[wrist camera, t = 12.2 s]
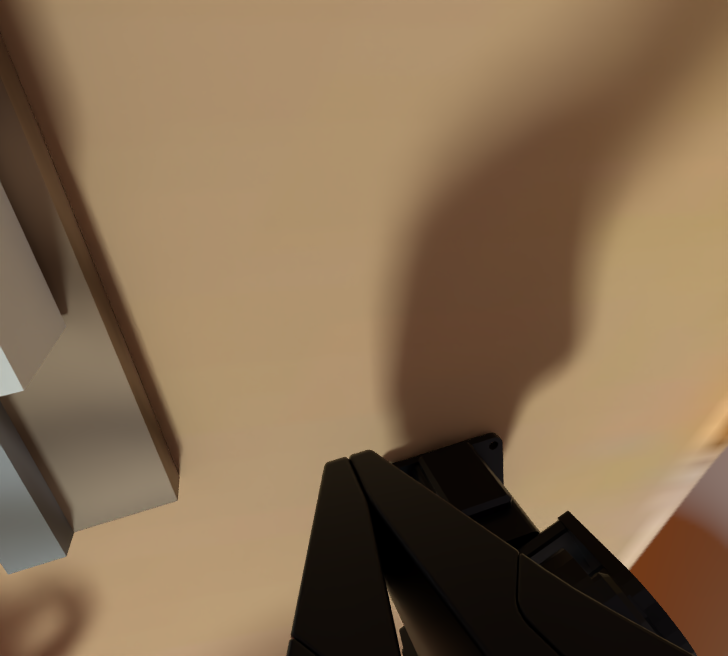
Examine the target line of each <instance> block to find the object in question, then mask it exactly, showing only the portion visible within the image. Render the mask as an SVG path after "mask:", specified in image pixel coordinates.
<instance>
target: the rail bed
mask: <svg viewBox="0 0 728 656" xmlns="http://www.w3.org/2000/svg"><path fill="white" fill-rule="evenodd" d="M0 182H1V184H2V186H3V188H4V191H5V193H6V195H7V197H8V199H9V202H10V204H11V206H12V208H13V210H14V213H15V215H16V217H17V219H18V221H19V224H20V226H21V228H22V230H23V232H24V235H25V237H26V239H27V241H28V243H29V246H30V248H31V250H32V252H33V254H34V257H35V259H36V261H37V263H38V265H39V268H40V270H41V272H42V274H43V276H44V278H45V281H46V283H47V285H48V287H49V289H50V292H51V294H52V296H53V298H54V300H55V303H56V305H57V307H58V309H59V311H60V314H61V316H62V318H63V320H64V322H65V325H66V328H65V329H64V331H63V332H62V334H61V335H60V337H59V338H58V340H57V341H56V343H55V344H54V346H53V347H52V349H51V350H50V352H49V353H48V355H47V356H46V358H45V359H44V361H43V362H42V364H41V366H40V367H39V369H38V370H37V372H36V373H35V375H34V376H33V378H32V379H31V381H30V382H29V384H28V385H27V387H26V388H25V390H24V391H21V392H16V393H12V394H8V395H4V396H0V563H1V565H2V566H3V568H4V569H5V570H6V572H7V573H8V574H12V573H15V572H18V571H21V570H24V569H28V568H31V567H34V566H37V565H40V564H44V563H47V562H50V561H53V560H56V559H60V558H63V557H66V556H67V553H68V550H69V547H70V543H71V540H72V537H73V534H74V532H77V531H80V530H83V529H87V528H90V527H93V526H96V525H100V524H103V523H106V522H110V521H113V520H116V519H119V518H123V517H126V516H129V515H133V514H136V513H139V512H142V511H146V510H149V509H152V508H156V507H159V506H162V505H165V504H169V503H172V502H175V501H178V490H179V478H180V477H179V474H178V472H177V469H176V467H175V464H174V462H173V459H172V457H171V454H170V452H169V450H168V447H167V445H166V442H165V440H164V437H163V435H162V432H161V430H160V427H159V425H158V422H157V420H156V417H155V415H154V412H153V410H152V407H151V405H150V402H149V400H148V397H147V395H146V393H145V390H144V388H143V385H142V383H141V380H140V378H139V375H138V373H137V370H136V368H135V365H134V363H133V360H132V358H131V355H130V353H129V350H128V348H127V345H126V343H125V341H124V338H123V336H122V333H121V331H120V328H119V326H118V323H117V321H116V318H115V316H114V313H113V311H112V308H111V306H110V303H109V301H108V298H107V296H106V293H105V291H104V288H103V286H102V284H101V281H100V279H99V276H98V274H97V271H96V269H95V266H94V264H93V261H92V259H91V256H90V254H89V251H88V249H87V246H86V244H85V241H84V239H83V236H82V234H81V232H80V229H79V227H78V224H77V222H76V219H75V217H74V214H73V212H72V209H71V207H70V204H69V202H68V199H67V197H66V194H65V192H64V189H63V187H62V184H61V182H60V179H59V177H58V175H57V172H56V170H55V167H54V165H53V162H52V160H51V157H50V155H49V152H48V150H47V147H46V145H45V142H44V140H43V137H42V135H41V132H40V130H39V127H38V125H37V123H36V120H35V118H34V115H33V113H32V110H31V108H30V105H29V103H28V100H27V98H26V95H25V93H24V90H23V88H22V85H21V83H20V80H19V78H18V75H17V73H16V70H15V68H14V66H13V63H12V61H11V58H10V56H9V53H8V51H7V48H6V46H5V43H4V41H3V38H2V36H1V33H0Z"/></svg>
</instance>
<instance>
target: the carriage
mask: <svg viewBox="0 0 728 656" xmlns="http://www.w3.org/2000/svg"><path fill="white" fill-rule="evenodd" d="M65 328H66V325H65V322H64V320H63V318H62V316H61V314H60V311H59V309H58V307H57V305H56V303H55V300H54V298H53V296H52V294H51V292H50V289H49V287H48V285H47V283H46V281H45V278H44V276H43V274H42V272H41V270H40V268H39V265H38V263H37V261H36V259H35V257H34V254H33V252H32V250H31V248H30V246H29V243H28V241H27V239H26V237H25V235H24V232H23V230H22V228H21V226H20V224H19V221H18V219H17V217H16V215H15V213H14V210H13V208H12V206H11V204H10V202H9V199H8V197H7V195H6V193H5V191H4V188H3V186H2V184H1V182H0V396H4V395H8V394H12V393H16V392H21V391H24V390H25V388H26V387H27V385H28V384H29V382H30V381H31V379H32V378H33V376H34V375H35V373H36V372H37V370H38V369H39V367H40V366H41V364H42V362H43V361H44V359H45V358H46V356H47V355H48V353H49V352H50V350H51V349H52V347H53V346H54V344H55V343H56V341H57V340H58V338H59V337H60V335H61V334H62V332H63V331H64V329H65Z"/></svg>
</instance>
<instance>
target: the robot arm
mask: <svg viewBox="0 0 728 656" xmlns="http://www.w3.org/2000/svg"><path fill="white" fill-rule="evenodd" d="M492 442H493V443H492ZM491 443H492V444H491ZM490 444H491V445H490ZM387 589H388V591H387ZM388 592H389V594H390V596H391V598H392V601H393V603H394V605H395V607H396V609H397V611H398V613H399V616H400V618H401V620H402V622H403V624H404V626H403V627H402V628H400V629H399V631H400V636H401V640H402V645H403V649H402V653H403V656H697V655H696V653H695V652H694V650H693V648H692V647H691V645H690V644H689V642H688V641H687V640H686V638H685V637H684V636H683V634H682V633H681V631H680V630H679V629H678V627H677V626H676V625H675V624H674V622H673V621H672V620H671V618H670V617H669V616H668V615H667V613H666V612H665V611H664V610H663V608H662V607H661V606H660V605H659V604H658V602H657V601H656V600H655V599H654V598H653V596H652V595H651V594H650V593H649V592H648V591H647V589H646V588H645V587H644V586H643V585H642V584H641V583H640V582H639V581H638V579H637V578H636V577H635V576H634V575H633V574H632V573H631V572H630V571H629V570H628V569H627V568H626V567H625V566H624V565H623V564H622V563H621V562H620V561H619V560H618V559H617V558H616V557H615V556H614V555H613V554H612V553H611V552H610V551H609V550H608V549H607V548H606V547H605V546H604V545H603V544H602V543H601V542H600V541H599V540H598V539H597V538H596V537H595V536H594V535H592V534H591V533H590V532H589V531H588V530H587V529H586V528H585V527H584V526H583V525H582V524H581V523H580V522H579V521H578V520H577V519H576V518H575V517H574V516H573V515H572V514H571V513H570V512H569V511H567V512H565V513H564V514H562V515H561V516H559V517H558V521H556V522H555V523H554V524H552V525H551V526H549V527H548V528H547V529H545V530H544V531H542V532H541V533H540V531H539V530H538V529H537V527H536V526H535V525H534V524H533V522H532V521H531V520H530V518H529V517H528V516H527V515H526V513H525V512H524V511H523V509H522V508H521V507H520V506H519V504H518V503H517V502H516V500H515V499H514V498H513V497H512V495H511V494H510V493H509V492H508V490H507V489H506V488H505V486H504V481H503V445H502V440H501V439H500V438H499V436H498V435H497V434H495V433H489V434H486V435H482V436H479V437H476V438H473V439H470V440H467V441H463V442H460V443H457V444H454V445H451V446H447V447H444V448H441V449H438V450H435V451H432V452H428V453H425V454H422V455H419V456H416V457H413V458H409V459H406V460H403V461H400V462H397V463H394V464H391V463H390V462H389V461H387V460H386V459H384V458H383V457H381V456H380V455H378V454H377V453H375V452H374V451H372V450H365V451H362V452H359V453H356V454H352V455H351V456H350V457H349V459H348V458H347V457H343V458H339V459H336V460H333V461H329V462H327V463H326V464H325V466H324V470H323V475H322V480H321V485H320V490H319V495H318V500H317V505H316V510H315V515H314V520H313V525H312V530H311V535H310V540H309V545H308V550H307V556H306V561H305V566H304V571H303V576H302V581H301V586H300V591H299V596H298V601H297V606H296V611H295V616H294V621H293V626H292V631H291V638H292V639H291V640H290V641H289V645H288V650H287V655H286V656H401V653H400V648H399V643H398V639H397V634H396V629H395V624H394V620H393V615H392V610H391V605H390V601H389V596H388Z"/></svg>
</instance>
